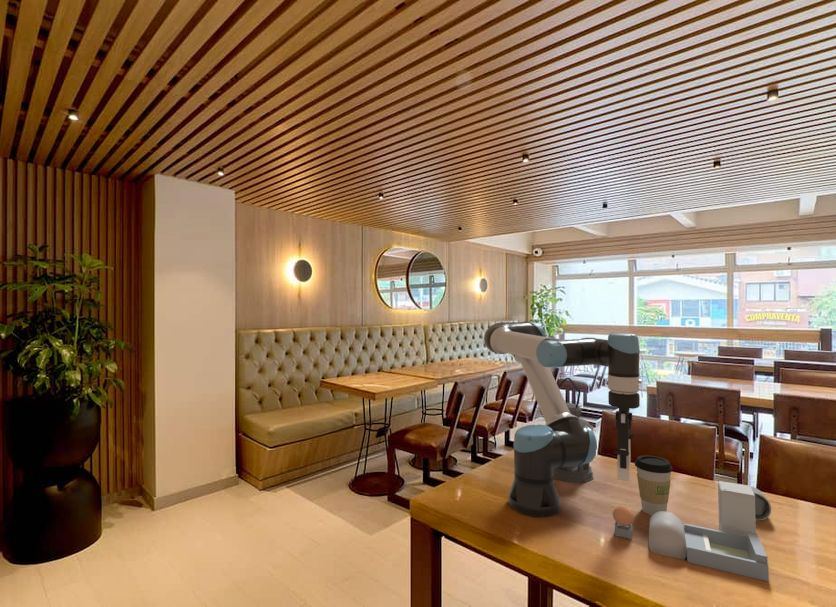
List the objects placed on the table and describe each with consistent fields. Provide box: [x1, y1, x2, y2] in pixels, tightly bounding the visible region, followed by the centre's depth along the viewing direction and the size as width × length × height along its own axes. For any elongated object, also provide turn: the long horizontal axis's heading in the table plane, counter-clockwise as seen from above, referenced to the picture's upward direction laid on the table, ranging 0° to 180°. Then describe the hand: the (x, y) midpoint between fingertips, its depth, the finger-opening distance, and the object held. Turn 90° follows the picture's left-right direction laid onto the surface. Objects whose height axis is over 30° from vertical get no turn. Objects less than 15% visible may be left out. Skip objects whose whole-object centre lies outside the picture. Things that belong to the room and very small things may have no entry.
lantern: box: [554, 377, 595, 484], centre depth 154 cm, size 17×17×35 cm
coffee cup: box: [634, 454, 673, 516], centre depth 124 cm, size 10×10×15 cm
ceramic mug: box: [751, 486, 772, 522], centre depth 123 cm, size 11×8×8 cm
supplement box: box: [717, 480, 757, 536], centre depth 111 cm, size 7×7×13 cm
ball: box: [612, 504, 635, 526], centre depth 112 cm, size 5×5×5 cm
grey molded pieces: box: [614, 511, 770, 582], centre depth 105 cm, size 31×13×8 cm, turn 60°
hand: (624, 470), depth 112 cm, fingers open, 13 cm apart
